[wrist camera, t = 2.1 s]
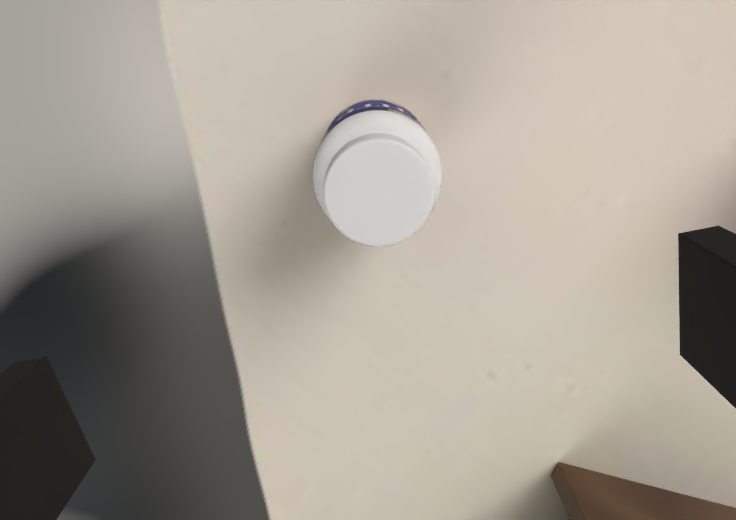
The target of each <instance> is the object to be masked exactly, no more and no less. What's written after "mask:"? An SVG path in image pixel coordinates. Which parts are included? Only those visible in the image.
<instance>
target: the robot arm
mask: <svg viewBox="0 0 736 520" xmlns="http://www.w3.org/2000/svg"><path fill="white" fill-rule="evenodd" d="M678 240H679V315H680V355H681V356H682V357H683V358H684V359H685V360H686V361H687V362H688V363H689V364H690V365H691V366H692V367H693V368H694V369H695V370H696V371H698V372H699V373H700V374H701V375H702V376H703V377H704V378H705V379H706V380H707V381H708V382H709V383H710V384H711V385H712V386H713V387H714V388H715V389H716V390H717V391H718V392H719V393H720V394H721V395H722V396H723V397H724V398H726V399H727V400H728V401H729V402H730V403H731V404H732V405H733V406H734V407H735V408H736V234H734V233H732V232H730V231H728V230H726V229H724V228H722V227H720V226H715V227H710V228H705V229H699V230H694V231H689V232H684V233H679V234H678ZM94 461H95V457H94V455H93V453H92V451H91V449H90V447H89V445H88V442H87V440H86V438H85V436H84V434H83V432H82V430H81V428H80V426H79V424H78V421H77V419H76V417H75V415H74V413H73V411H72V409H71V407H70V405H69V402H68V400H67V398H66V396H65V394H64V392H63V390H62V388H61V386H60V384H59V381H58V380H57V378H56V375H55V373H54V371H53V369H52V367H51V365H50V363H49V361H48V358H47V357H41V358H36V359H31V360H26V361H21V362H16V363H12V364H11V365H10V366H9V367H8V368H7V369H6V370H4V371H3V372H2V373H1V374H0V520H56V519H57V518H58V516H59V515H60V513H61V512H62V510H63V509H64V507H65V506H66V504H67V502H68V501H69V499H70V498H71V496H72V495H73V493H74V492H75V490H76V489H77V487H78V486H79V484H80V483H81V481H82V480H83V478H84V477H85V475H86V474H87V472H88V471H89V469H90V468H91V466H92V465H93V463H94Z"/></svg>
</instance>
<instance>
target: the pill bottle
mask: <svg viewBox="0 0 736 520" xmlns="http://www.w3.org/2000/svg"><path fill="white" fill-rule="evenodd" d="M313 185H314V190H315V194H316V197H317V199H318V202H319V204H320V206H321V208H322V209H323V211H324V212H325V214H326V215H327V216H328V217H329V218H330V220H331V221H332V223H333V224H334V226H335V227H336V228H337V229H338V230H339V231H340V232H341V233H342V234H343V235H345V236H346V237H347V238H349V239H351V240H352V241H354V242H357V243H359V244H363V245H366V246H371V247H385V246H391V245H395V244H398V243H400V242H402V241H404V240H406V239H408V238H410V237H411V236H412V235H414V234H415V233H416V232H417V231H418V230H419V229H420V228H421V227H422V225H423V224H424V223H425V221H426V220H427V218H428V216H429V214H430V213H431V211H432V210H433V208H434V206H435V204H436V202H437V200H438V197H439V194H440V191H441V186H442V164H441V159H440V156H439V153H438V150H437V148H436V146H435V144H434V142H433V140H432V139H431V137H430V136H429V134H428V133H427V132H426V130H425V129H424V127H423V126H422V125H421V124H420V122H419V121H418V120H417V118H416V117H415V116H414V115H413V114H412V113H411V112H410V111H408V110H407V109H405V108H404V107H402V106H400V105H398V104H396V103H394V102H391V101H387V100H381V99H371V100H364V101H361V102H358V103H355V104H353V105H351V106H349V107H348V108H346V109H345V110H343V111H342V112H341V113H340V114H339V115H338V116H337V117H336V118H335V119H334V120H333V122H332V123H331V125H330V126H329V128H328V130H327V132H326V134H325V136H324V138H323V140H322V142H321V144H320V146H319V148H318V151H317V153H316V156H315V159H314V165H313Z"/></svg>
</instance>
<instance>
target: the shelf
mask: <svg viewBox="0 0 736 520" xmlns="http://www.w3.org/2000/svg"><path fill="white" fill-rule="evenodd" d="M551 478H552V480H553V482H554V485H555V487H556V489H557V491H558V494H559V496H560V498H561V500H562V503H563V505H564V507H565V509H566V512H567V514H568V516H569V518H570V520H736V508H733V507H729V506H725V505H721V504H717V503H713V502H710V501H706V500H702V499H698V498H694V497H690V496H687V495H683V494H679V493H675V492H671V491H667V490H663V489H660V488H656V487H652V486H648V485H644V484H640V483H636V482H633V481H629V480H625V479H621V478H617V477H613V476H610V475H606V474H602V473H598V472H594V471H590V470H586V469H583V468H579V467H575V466H571V465H567V464H563V463H559V462H558V464H557V466H556V467H555V469H554V471H553V473H552V475H551Z"/></svg>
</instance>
